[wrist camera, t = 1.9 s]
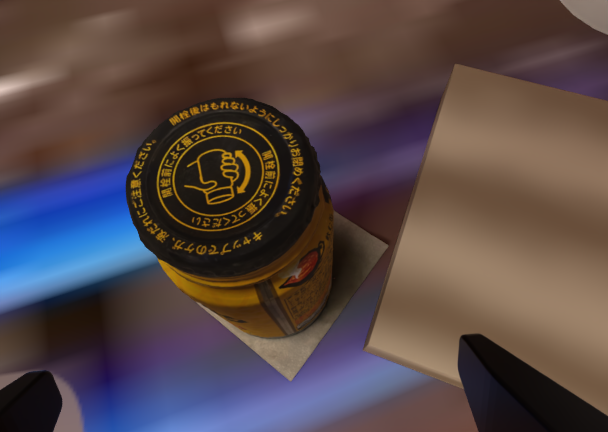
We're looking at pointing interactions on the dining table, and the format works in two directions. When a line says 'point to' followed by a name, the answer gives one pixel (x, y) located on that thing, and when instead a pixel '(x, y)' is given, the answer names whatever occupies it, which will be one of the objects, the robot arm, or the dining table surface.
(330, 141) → the dining table surface
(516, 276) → the base board
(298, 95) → the dining table surface
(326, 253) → the condiment
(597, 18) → the honey pot
